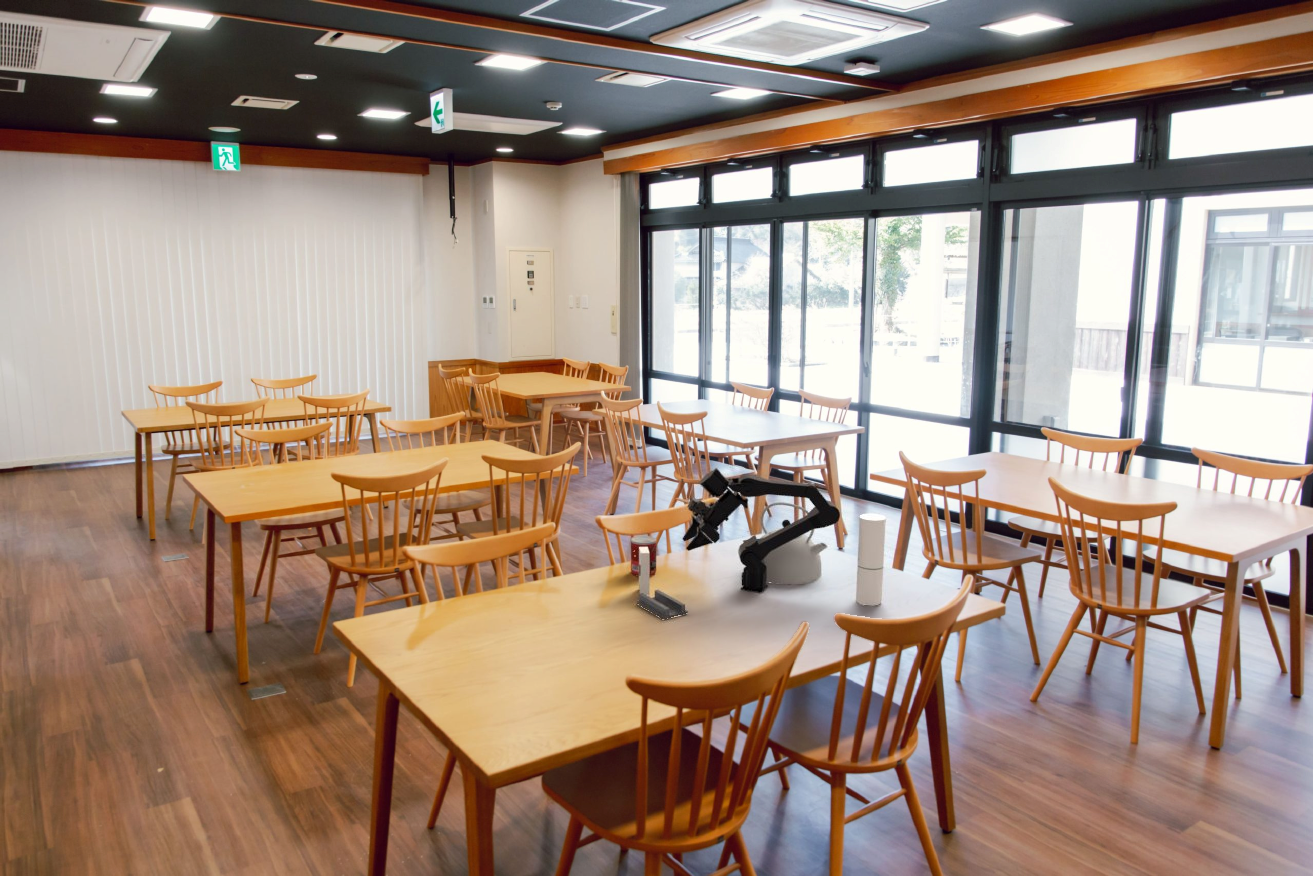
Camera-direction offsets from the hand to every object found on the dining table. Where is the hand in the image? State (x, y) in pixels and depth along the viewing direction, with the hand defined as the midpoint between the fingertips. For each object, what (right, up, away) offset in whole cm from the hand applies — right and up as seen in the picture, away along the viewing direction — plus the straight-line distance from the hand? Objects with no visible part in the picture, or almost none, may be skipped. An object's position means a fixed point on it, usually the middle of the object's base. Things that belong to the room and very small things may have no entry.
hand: (685, 544), depth 263 cm
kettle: (+33, -11, +18) cm, 39 cm away
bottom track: (-7, -16, -13) cm, 22 cm away
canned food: (-12, -11, +17) cm, 24 cm away
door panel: (-12, -14, 0) cm, 18 cm away
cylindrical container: (+52, -16, -7) cm, 55 cm away
